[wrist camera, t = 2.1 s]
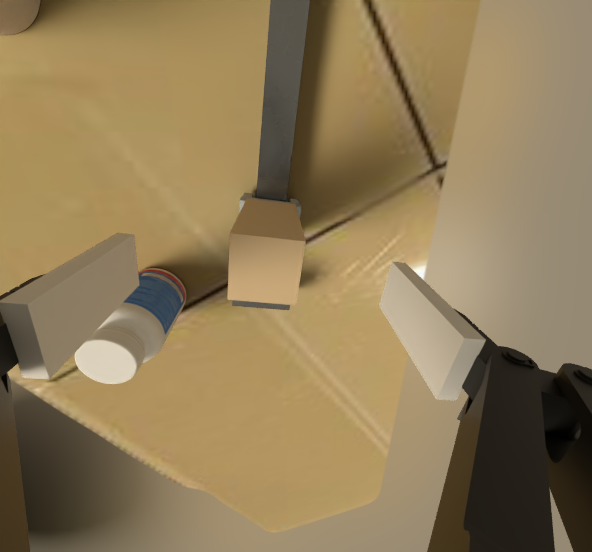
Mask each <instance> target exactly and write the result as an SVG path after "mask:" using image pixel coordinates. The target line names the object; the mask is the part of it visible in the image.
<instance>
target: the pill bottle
mask: <svg viewBox="0 0 592 552" xmlns="http://www.w3.org/2000/svg"><path fill="white" fill-rule="evenodd" d="M138 276H139V286H138V287H137V288H136V289H135V290H134V291H133V292H132V293H131V294H130V295H129V297H128V298H127V299H126V300H125V301H124V302H123V303H122V304H121V305H120V306H119V307H118V308H117V309H116V310H115V311H114V312H113V313H112V314H111V315H110V316H109V317H108V318H107V320H106V321H105V322H104V323H103V324H102V325H101V326H100V327H99V328H98V329H97V330H96V331H95V332H94V333H93V334H92V335H91V336H90V337H89V338H88V339H87V340H86V341H85V342H84V344H83V345H82V346H81V347H80V348H79V349H78V350H77V351H76V353H75V362H76V364H77V366H78V368H79V369H80V370H81V371H82V372H83V373H84V374H85V375H86V376H88V377H89V378H91V379H93V380H95V381H98V382H101V383H106V384H119V383H123V382H126V381H128V380H130V379H131V378H132V377H133V376H134V375H135V374H136V372H137V371H138V369H139V368H140V366H141V365H142V363H144V362H146V361H148V360H150V359H152V358H153V357H154V356H155V355H156V354H157V353H158V352H159V351H160V349H161V348H162V346H163V344H164V342H165V340H166V339H167V337H168V335H169V333H170V331H171V329H172V327H173V325H174V323H175V322H176V320H177V318H178V316H179V314H180V313H181V311H182V309H183V307H184V305H185V302H186V290H185V287H184V285H183V284H182V282H181V281H180V280H179V279H178V278H177V277H176V276H175V275H173V274H172V273H170V272H168V271H166V270H163V269H158V268H149V269H144V270H142V271H139V272H138Z"/></svg>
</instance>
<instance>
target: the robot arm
mask: <svg viewBox="0 0 592 552" xmlns="http://www.w3.org/2000/svg"><path fill="white" fill-rule="evenodd" d="M138 286H139V276H138V266H137V256H136V246H135V237H134V235H133V234H123V233H117V234H115V235H113V236H111V237H110V238H108V239H106V240H104V241H103V242H101V243H99V244H97V245H96V246H94V247H92V248H91V249H89V250H87V251H85V252H84V253H82V254H80V255H78V256H77V257H75V258H73V259H71V260H70V261H68V262H66V263H64V264H63V265H61V266H59V267H57V268H56V269H54V270H52V271H50V272H49V273H47V274H44V275H41V276H38V277H35V278H32V279H30V280H28V281H26V282H24V283H23V284H21V285H19V287H15V288H14V289H12V290H10V291H9V292H7V293H5V294H3V295H1V296H0V552H30V545H29V537H28V528H27V519H26V511H25V503H24V494H23V485H22V476H21V468H20V459H19V451H18V442H17V434H16V425H15V417H14V408H13V400H12V391H11V383H10V379H9V376H8V373H7V372H8V371H9V370H10V369H12V368H13V367H14V366H15V365H16V364H17V363H18V365H19V368H20V371H21V374H22V377H23V378H35V379H50V378H51V377H52V376H53V375H54V374H55V373H56V372H57V371H58V370H59V369H60V368H61V366H62V365H63V364H64V363H65V362H66V361H67V360H68V359H69V358H70V357H71V356H72V355H73V354H74V353H75V352H76V351H77V350H78V349H79V348H80V347H81V346H82V345H83V344H84V342H85V341H86V340H87V339H88V338H89V337H90V336H91V335H92V334H93V333H94V332H95V331H96V330H97V329H98V328H99V327H100V326H101V325H102V324H103V323H104V322H105V321H106V320H107V318H108V317H109V316H110V315H111V314H112V313H113V312H114V311H115V310H116V309H117V308H118V307H119V306H120V305H121V304H122V303H123V302H124V301H125V300H126V299H127V298H128V297H129V295H130V294H131V293H132V292H133V291H134V290H135V289H136V288H137V287H138ZM379 307H380V308H381V310H382V312H383V313H384V315H385V317H386V318H387V320H388V321H389V323H390V325H391V326H392V328H393V330H394V331H395V333H396V334H397V336H398V338H399V339H400V341H401V342H402V344H403V346H404V347H405V349H406V351H407V352H408V354H409V355H410V357H411V359H412V360H413V362H414V364H415V365H416V367H417V368H418V370H419V372H420V373H421V375H422V376H423V378H424V380H425V381H426V383H427V385H428V386H429V388H430V389H431V391H432V393H433V394H434V396H435V398H436V399H438V400H457V397H458V395H459V393H460V391H461V389H462V388H463V389H464V390H465V392H466V393H467V394H468V395H469V397H468V399H467V401H466V403H465V405H464V407H463V408H462V410H461V412H460V415H459V416H458V418H457V419H458V420H460V425H459V429H458V433H457V437H456V441H455V445H454V449H453V452H452V456H451V461H450V464H449V468H448V472H447V476H446V481H445V484H444V488H443V492H442V496H441V500H440V504H439V508H438V512H437V516H436V520H435V524H434V527H433V531H432V535H431V539H430V543H429V547H428V551H427V552H555V548H554V537H553V525H552V513H551V502H550V490H551V492H552V495H553V498H554V500H555V503H556V506H557V508H558V511H559V514H560V516H561V519H562V522H563V524H564V527H565V530H566V532H567V535H568V538H569V540H570V543H571V546H572V548H573V551H574V552H592V370H591V369H589V368H587V367H582V366H579V365H575V364H571V363H568V364H567V363H566V364H563V365H562V367H561V368H560V369H559V371H558V372H557V374H556V373H551V372H548V371H544V370H540V369H539V368H538V366H537V364H536V363H535V362H534V361H533V360H532V359H531V358H529V357H528V356H526V355H525V354H523V353H521V352H519V351H517V350H514V349H511V348H508V347H501V346H497V345H496V344H495V343H494V342H493V341H492V340H491V339H490V338H488V337H487V336H486V335H485V334H484V333H483V332H482V331H481V330H479V329H478V327H476V325H475V324H472V322H471V321H470V320H469V319H468V318H467V317H466V316H465V315H463V314H462V313H460V312H458V311H457V310H455V309H453V308H452V307H451V306H450V305H449V304H448V303H447V302H446V301H445V300H444V299H442V298H441V297H440V296H439V295H438V294H437V293H436V292H435V291H434V290H433V289H432V288H431V287H430V286H429V285H428V284H427V283H426V282H425V281H424V280H423V279H422V278H421V277H419V276H418V275H417V274H416V273H415V272H414V271H413V270H412V269H411V268H410V267H409V266H408V265H407V264H406V263H399V262H392V263H391V267H390V270H389V273H388V277H387V280H386V284H385V287H384V291H383V294H382V298H381V301H380V304H379ZM549 487H550V490H549Z"/></svg>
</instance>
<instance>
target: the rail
mask: <svg viewBox="0 0 592 552" xmlns="http://www.w3.org/2000/svg"><path fill="white" fill-rule="evenodd" d="M309 4H310V0H271V4H270V17H269V31H268V45H267V58H266V72H265V85H264V99H263V113H262V126H261V140H260V154H259V167H258V181H257V195H256V198H260V199H268V200H276V201H284V202H286V200H287V192H288V183H289V175H290V166H291V157H292V149H293V140H294V132H295V123H296V115H297V106H298V98H299V89H300V81H301V72H302V64H303V55H304V47H305V38H306V30H307V21H308V13H309ZM232 306H243V307H256V308H268V309H281V310H289V308H290V305H286V304H274V303H261V302H249V301H237V300H233V303H232Z"/></svg>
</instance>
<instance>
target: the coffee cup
mask: <svg viewBox="0 0 592 552" xmlns="http://www.w3.org/2000/svg"><path fill="white" fill-rule="evenodd" d="M39 7H40V0H0V35H13V34H17V33H20V32H22V31H24V30H25V29H27V28H28V27H29V26H30V25H31V24H32V23H33V21H34V20H35V18H36V16H37V14H38V11H39Z"/></svg>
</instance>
